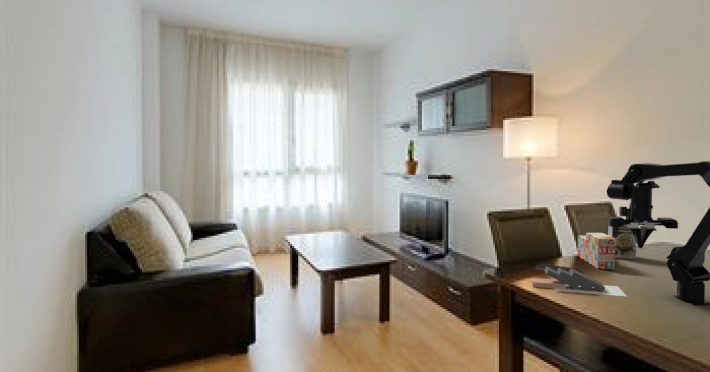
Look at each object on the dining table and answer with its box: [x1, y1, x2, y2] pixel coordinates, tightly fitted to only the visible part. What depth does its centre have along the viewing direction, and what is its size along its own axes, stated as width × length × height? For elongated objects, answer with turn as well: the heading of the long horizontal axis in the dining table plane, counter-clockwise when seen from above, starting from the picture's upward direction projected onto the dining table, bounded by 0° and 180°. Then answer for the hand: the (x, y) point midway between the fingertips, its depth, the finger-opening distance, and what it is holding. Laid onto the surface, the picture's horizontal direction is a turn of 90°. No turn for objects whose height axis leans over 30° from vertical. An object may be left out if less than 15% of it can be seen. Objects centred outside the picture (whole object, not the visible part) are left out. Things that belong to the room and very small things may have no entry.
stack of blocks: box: [577, 232, 616, 270], centre depth 164 cm, size 21×6×12 cm, turn 170°
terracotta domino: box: [531, 277, 566, 289], centre depth 134 cm, size 2×5×10 cm
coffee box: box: [607, 225, 637, 260], centre depth 171 cm, size 9×6×16 cm
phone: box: [534, 263, 582, 273], centre depth 154 cm, size 8×1×15 cm
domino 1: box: [544, 266, 579, 289], centre depth 133 cm, size 2×5×10 cm
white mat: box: [553, 284, 627, 297], centre depth 130 cm, size 20×10×1 cm, turn 71°
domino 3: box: [569, 267, 605, 292], centre depth 130 cm, size 2×5×10 cm
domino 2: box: [557, 267, 592, 291], centre depth 131 cm, size 2×5×10 cm
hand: (640, 248), depth 132 cm, fingers closed
